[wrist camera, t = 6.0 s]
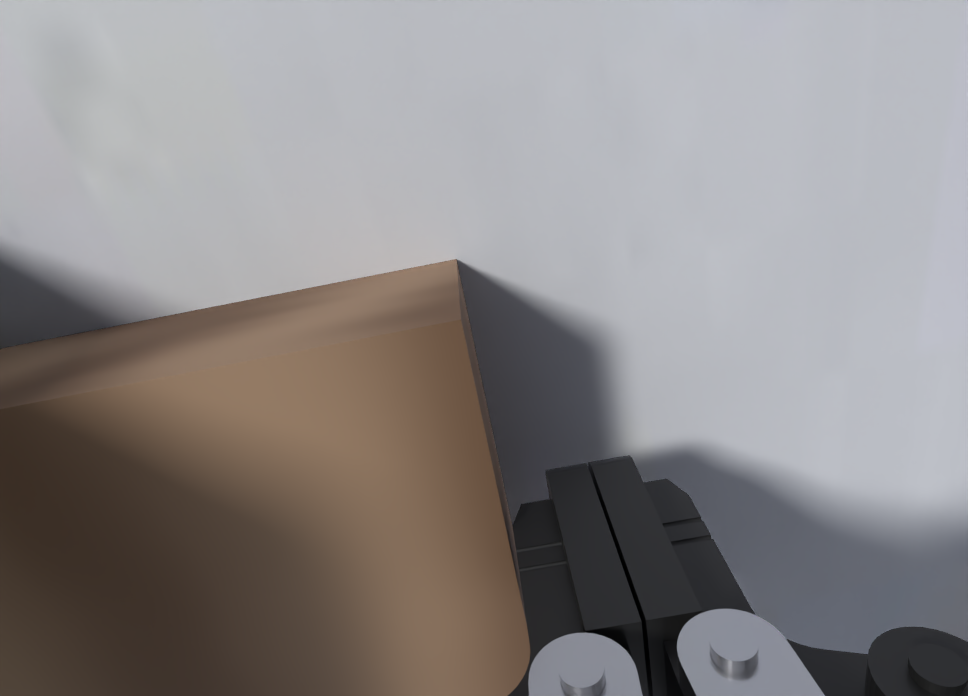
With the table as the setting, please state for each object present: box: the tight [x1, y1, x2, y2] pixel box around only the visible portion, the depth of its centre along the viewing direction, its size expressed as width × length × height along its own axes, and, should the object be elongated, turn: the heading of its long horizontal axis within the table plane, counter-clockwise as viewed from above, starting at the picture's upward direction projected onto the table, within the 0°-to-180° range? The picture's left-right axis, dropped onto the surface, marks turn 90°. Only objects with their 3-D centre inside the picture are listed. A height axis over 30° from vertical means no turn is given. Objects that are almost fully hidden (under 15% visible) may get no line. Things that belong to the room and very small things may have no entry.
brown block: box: [0, 259, 530, 696], centre depth 13 cm, size 12×9×4 cm
